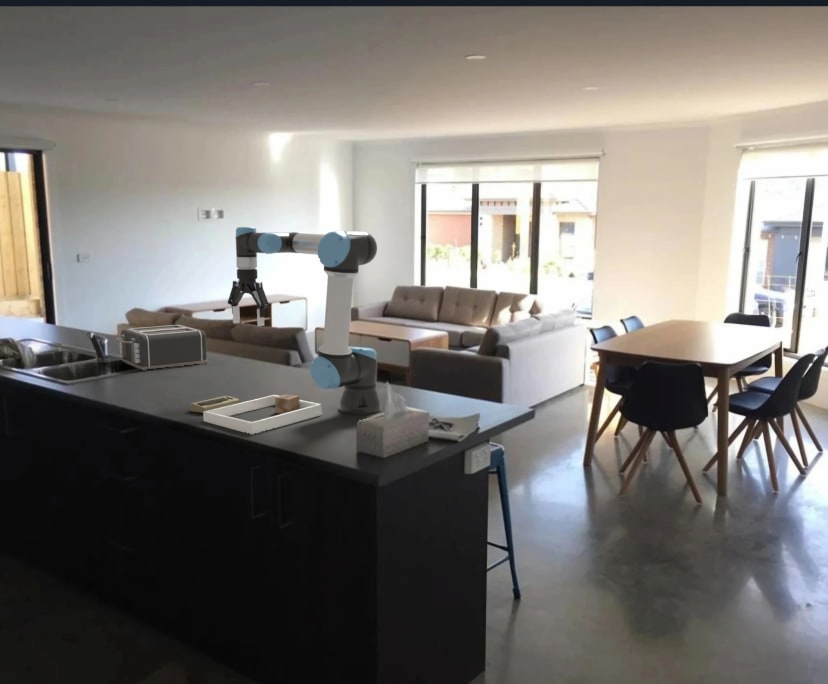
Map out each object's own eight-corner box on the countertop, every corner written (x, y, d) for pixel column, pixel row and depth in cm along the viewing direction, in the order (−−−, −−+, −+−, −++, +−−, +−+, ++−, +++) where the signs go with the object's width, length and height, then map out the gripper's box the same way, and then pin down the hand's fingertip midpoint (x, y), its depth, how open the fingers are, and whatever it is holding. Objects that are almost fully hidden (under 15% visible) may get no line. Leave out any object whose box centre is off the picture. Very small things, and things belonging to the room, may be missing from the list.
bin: (321, 415, 258) (321, 404, 257) (252, 435, 232) (251, 423, 232) (274, 405, 272) (274, 394, 271) (203, 423, 246) (203, 411, 245)
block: (299, 412, 262) (299, 396, 261) (289, 416, 257) (289, 399, 256) (285, 410, 265) (285, 394, 264) (275, 414, 259) (275, 397, 258)
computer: (204, 413, 253) (203, 404, 253) (189, 411, 258) (189, 402, 258) (240, 405, 266) (239, 396, 265) (226, 403, 271) (225, 394, 270)
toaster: (110, 365, 348) (108, 329, 346) (183, 357, 371) (182, 323, 368) (132, 375, 325) (130, 336, 323) (208, 366, 348) (207, 330, 345)
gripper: (277, 269, 271) (278, 326, 274) (232, 266, 285) (234, 320, 289) (262, 270, 265) (264, 328, 268) (217, 267, 279) (219, 322, 283)
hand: (248, 324), depth 278 cm, fingers open, 13 cm apart
